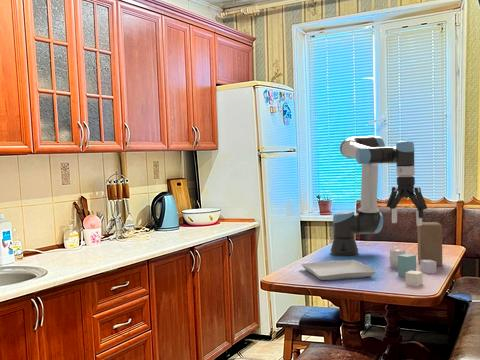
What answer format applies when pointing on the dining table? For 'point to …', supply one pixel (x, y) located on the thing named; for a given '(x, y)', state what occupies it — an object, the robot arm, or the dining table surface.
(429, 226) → the block
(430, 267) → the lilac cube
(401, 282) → the dining table surface
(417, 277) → the cream cube
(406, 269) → the teal block
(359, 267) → the square plate
